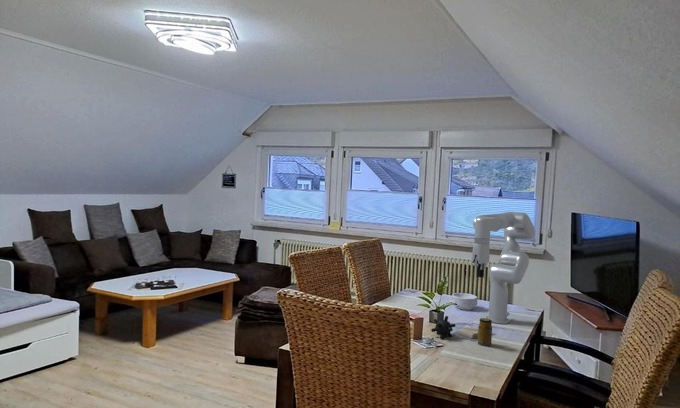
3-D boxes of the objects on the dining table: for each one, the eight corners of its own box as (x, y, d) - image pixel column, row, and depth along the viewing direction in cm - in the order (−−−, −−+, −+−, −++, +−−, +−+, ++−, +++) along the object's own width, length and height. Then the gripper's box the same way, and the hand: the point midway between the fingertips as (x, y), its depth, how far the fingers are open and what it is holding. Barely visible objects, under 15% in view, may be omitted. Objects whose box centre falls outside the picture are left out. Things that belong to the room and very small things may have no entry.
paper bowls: (473, 313, 270) (474, 299, 270) (448, 308, 278) (448, 295, 278) (479, 308, 283) (480, 295, 283) (455, 304, 291) (456, 291, 291)
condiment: (484, 342, 216) (486, 316, 216) (498, 348, 209) (499, 321, 208) (472, 343, 213) (474, 318, 213) (486, 349, 206) (487, 323, 205)
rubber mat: (471, 328, 239) (471, 327, 239) (496, 335, 228) (496, 334, 228) (448, 334, 225) (448, 334, 225) (474, 342, 215) (474, 341, 215)
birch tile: (469, 326, 232) (457, 330, 225) (483, 330, 226) (472, 334, 219) (468, 331, 232) (457, 334, 225) (483, 335, 226) (472, 338, 219)
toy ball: (427, 325, 228) (451, 320, 229) (434, 345, 221) (458, 340, 222) (428, 315, 221) (452, 309, 221) (435, 335, 213) (460, 329, 214)
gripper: (483, 240, 244) (481, 274, 244) (467, 241, 234) (465, 277, 234) (496, 241, 238) (494, 276, 239) (480, 242, 228) (478, 279, 229)
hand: (480, 276), depth 236 cm, fingers closed
